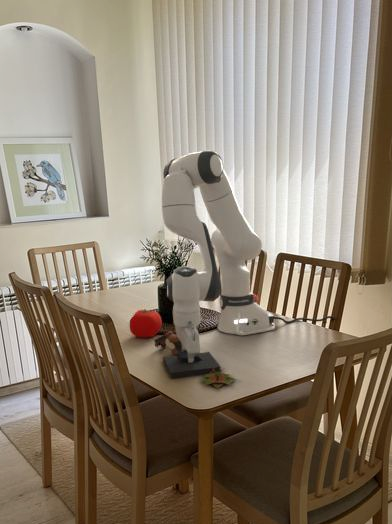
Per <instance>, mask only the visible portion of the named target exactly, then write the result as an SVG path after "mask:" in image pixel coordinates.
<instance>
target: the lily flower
mask: <svg viewBox="0 0 392 524" xmlns="http://www.w3.org/2000/svg"><path fill="white" fill-rule="evenodd" d="M220 368H222V366H220ZM212 369H213V368H212ZM224 369H225V367H224V368H222V369H221V371H220V372H218V371H217V372H215V371H216V369H215V370H214V369H213V370H214V371H213V370H212V371H213V372H215V373H212V372H211V374H204V376H203V377H200V378H198V379H197V381H202V382H204V386H207V385H210V384H211V385H212V386H214V387H215V388H217V389H219V388H221V386H223V385H224V384H226V385H229V386H232V383H231V382H234V381H238V380H239V379H237V378H235V377H232V376H231V374H229V373H226V372H223V371H224ZM219 370H220V369H219Z"/></svg>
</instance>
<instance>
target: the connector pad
mask: <svg viewBox="0 0 392 524" xmlns="http://www.w3.org/2000/svg"><path fill="white" fill-rule="evenodd" d="M187 356H188V352H187V351H182V352H178V354H177V358H178V359H179V361H180V363H186V362H188V359H187ZM194 361H199V355H198V354H194Z"/></svg>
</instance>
